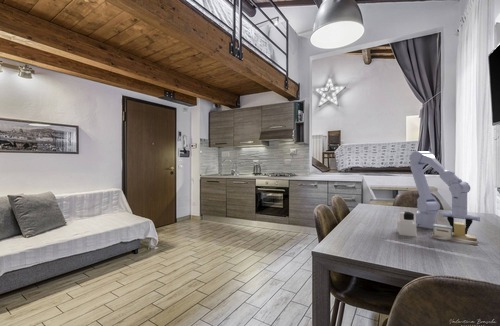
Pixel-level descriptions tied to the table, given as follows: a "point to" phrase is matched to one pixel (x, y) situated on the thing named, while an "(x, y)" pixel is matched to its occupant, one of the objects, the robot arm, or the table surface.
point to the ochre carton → (459, 229)
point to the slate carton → (442, 230)
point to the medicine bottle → (406, 224)
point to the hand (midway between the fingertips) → (459, 233)
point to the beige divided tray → (460, 238)
